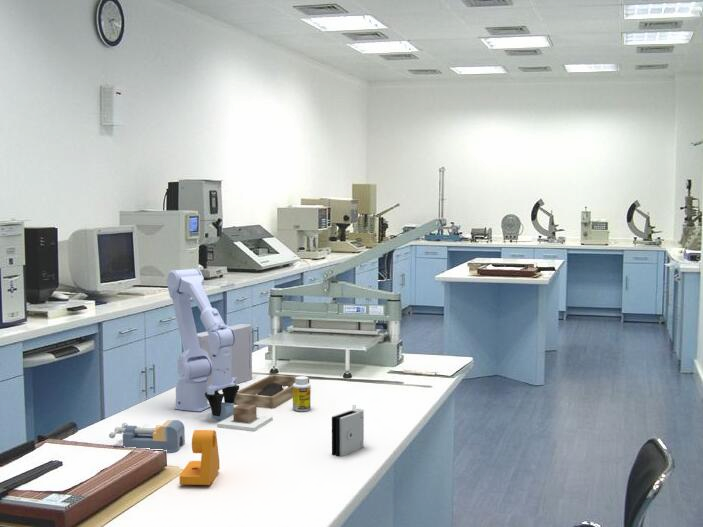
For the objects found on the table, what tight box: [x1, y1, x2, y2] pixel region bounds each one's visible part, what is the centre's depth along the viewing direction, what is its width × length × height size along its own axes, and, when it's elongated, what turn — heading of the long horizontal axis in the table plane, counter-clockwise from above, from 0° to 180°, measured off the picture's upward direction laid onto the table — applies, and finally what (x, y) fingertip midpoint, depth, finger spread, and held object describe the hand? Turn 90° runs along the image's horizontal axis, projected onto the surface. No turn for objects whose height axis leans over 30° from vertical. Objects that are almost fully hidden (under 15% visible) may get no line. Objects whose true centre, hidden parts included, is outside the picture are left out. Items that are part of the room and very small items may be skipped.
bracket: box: [179, 429, 221, 486], centre depth 191 cm, size 11×7×12 cm, turn 177°
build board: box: [216, 414, 274, 432], centre depth 237 cm, size 12×12×1 cm
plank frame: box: [234, 374, 310, 409], centre depth 269 cm, size 14×28×4 cm, turn 159°
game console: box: [188, 323, 253, 388], centre depth 282 cm, size 6×27×20 cm, turn 148°
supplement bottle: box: [292, 375, 311, 412], centre depth 252 cm, size 6×6×10 cm
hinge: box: [331, 404, 365, 457], centre depth 214 cm, size 14×5×10 cm, turn 153°
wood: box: [256, 383, 284, 396], centre depth 270 cm, size 22×8×3 cm, turn 170°
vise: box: [108, 419, 186, 454], centre depth 216 cm, size 18×10×7 cm, turn 85°
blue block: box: [210, 401, 235, 421], centre depth 244 cm, size 5×5×4 cm
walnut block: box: [233, 404, 258, 423], centre depth 237 cm, size 5×5×4 cm
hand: (222, 412), depth 244 cm, fingers open, 7 cm apart
